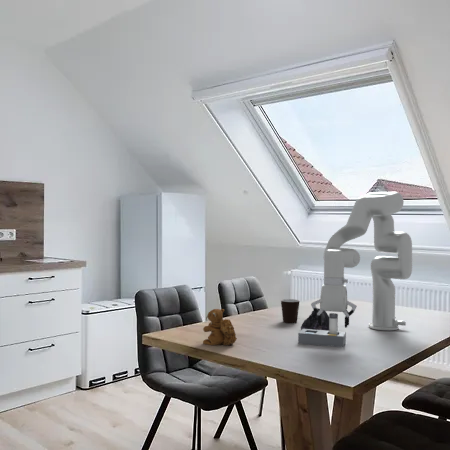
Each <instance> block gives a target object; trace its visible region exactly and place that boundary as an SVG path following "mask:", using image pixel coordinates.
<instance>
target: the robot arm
mask: <svg viewBox="0 0 450 450" xmlns="http://www.w3.org/2000/svg"><path fill="white" fill-rule="evenodd" d="M403 206H404V196H403V195H402V194H401V193H400V192H397V191H388V192H387V191H378V192H377V191H376V192H368V193H366V194H365V195H364V196H363V195H361V196H359V197H358V198H357V199H356V200H355V202H354V204H353V206H352V207H353V208H352V209H351V211H350V215H349V216H348V219H347V222H346V224H345V225H344V226H342V227H341V228H339V229H338V230H337V231H336V232H334V234H333V235H331V236H330V237H329V239H328V241H327V243H326V245H325V248H324V252H323V284H322V285H321V288H320V289H321V290H320V298H319V299H317V300H315V301H313V302H311V303H310V306H311V307H312V311H313V310H314V311H315V312H316V313H317V315H318V323H319V326H321V325H322V318H323V315H322V312H323V311H326V312H332V313H343V315H344V328H346V329H347V328H348V326H350V317H351V316H352V315H353V314H354V313H355V311H356V309H357V305H356V304H354V303H353V302H351V301H349V299H348V290H347V285H345V284H348V282H349V281H348V279H346V278H345V268H346V269H347V268H350V269H353V268H355V267H357V266H358V265H359V264H360V260H361V255H360V253H359V252H358V250H357V249H354V248H349V247H348V248H345V247H342V246H343V245H344V244H346V243H347V242H349V241H352V240H355V239H357V238H360V237H362V236H364V235H365V234H366V233H367V231H368V229H369V227H370V224H371V221H372V220H373V243H374V244H373V245H374V249H375V251H376V252H378V253H381V254H395V255H397V256H389V255H378V256H375V257H374V258H373V259H372V260H371V262H370V272H371V273H370V274H371V276H372V317H371V318H372V319H371V320H372V322H371V323H370V322H369V323H368V328H370V329H372V330H378V331H386V332H387V331H397V330H399V326H403V327H404V326H405V327H406V325H407V323H406V322H407V320H401V319H400V320H398V319H397V318H396V287H395V284H394V281H393V280H394V279H395V280H407V279H409V278H410V277H411V275H412V273H413V241H412V238H411V235H410V234H409V233H408V232H405V231H395V219H394V218H393V215H394V214H396V213H399V212H400V211H401V210H402V208H403ZM392 279H393V280H392ZM318 304H319V308H318V309H320V310H318V309H317V306H316V305H318ZM348 306H349V307H351V310H349V311H348Z"/></svg>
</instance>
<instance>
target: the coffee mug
mask: <svg viewBox="0 0 450 450" xmlns="http://www.w3.org/2000/svg"><path fill="white" fill-rule="evenodd" d="M280 304H281V305H280V306H281V314H282V323H284V324H297V323H298V318H299V316H298V315H299V310H300V299H296V298H295V299H294V298H284V299H283V298H282V299H280Z"/></svg>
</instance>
